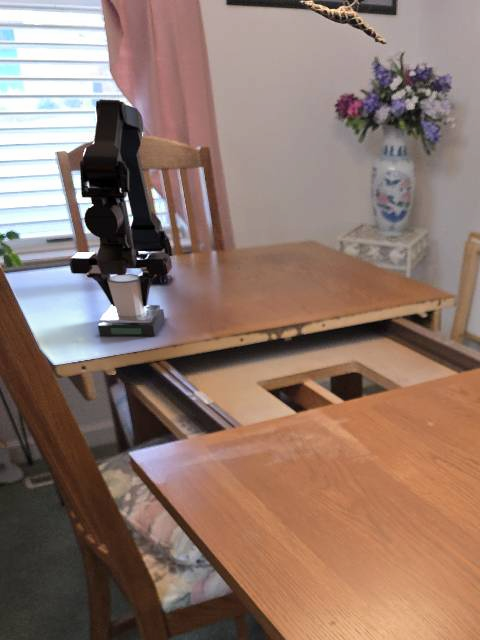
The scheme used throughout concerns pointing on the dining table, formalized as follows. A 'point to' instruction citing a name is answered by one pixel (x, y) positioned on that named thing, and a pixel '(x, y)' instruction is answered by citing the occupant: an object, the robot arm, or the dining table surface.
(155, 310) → the scale pan
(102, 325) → the scale
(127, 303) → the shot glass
